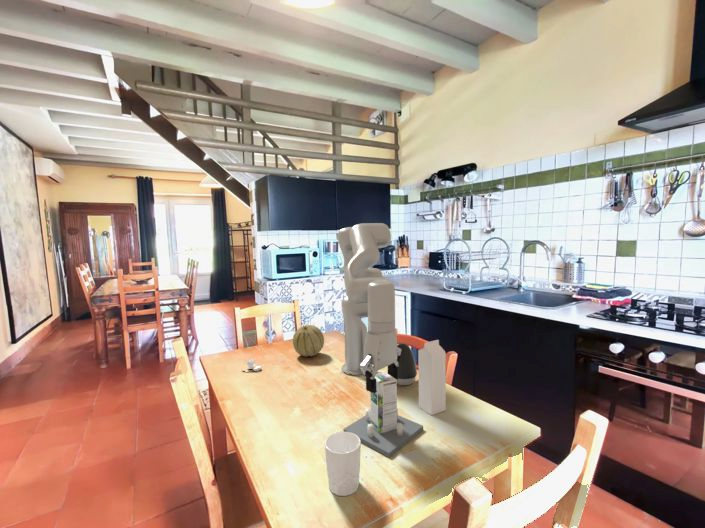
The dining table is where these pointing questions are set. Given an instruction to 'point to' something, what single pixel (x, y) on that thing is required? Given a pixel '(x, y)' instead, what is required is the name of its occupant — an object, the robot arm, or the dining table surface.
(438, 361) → the milk
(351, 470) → the white cup
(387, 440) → the standoff base
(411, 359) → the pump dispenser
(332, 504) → the dining table surface
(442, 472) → the dining table surface
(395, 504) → the dining table surface
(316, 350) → the cantaloupe
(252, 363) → the pacifier
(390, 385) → the syrup box
